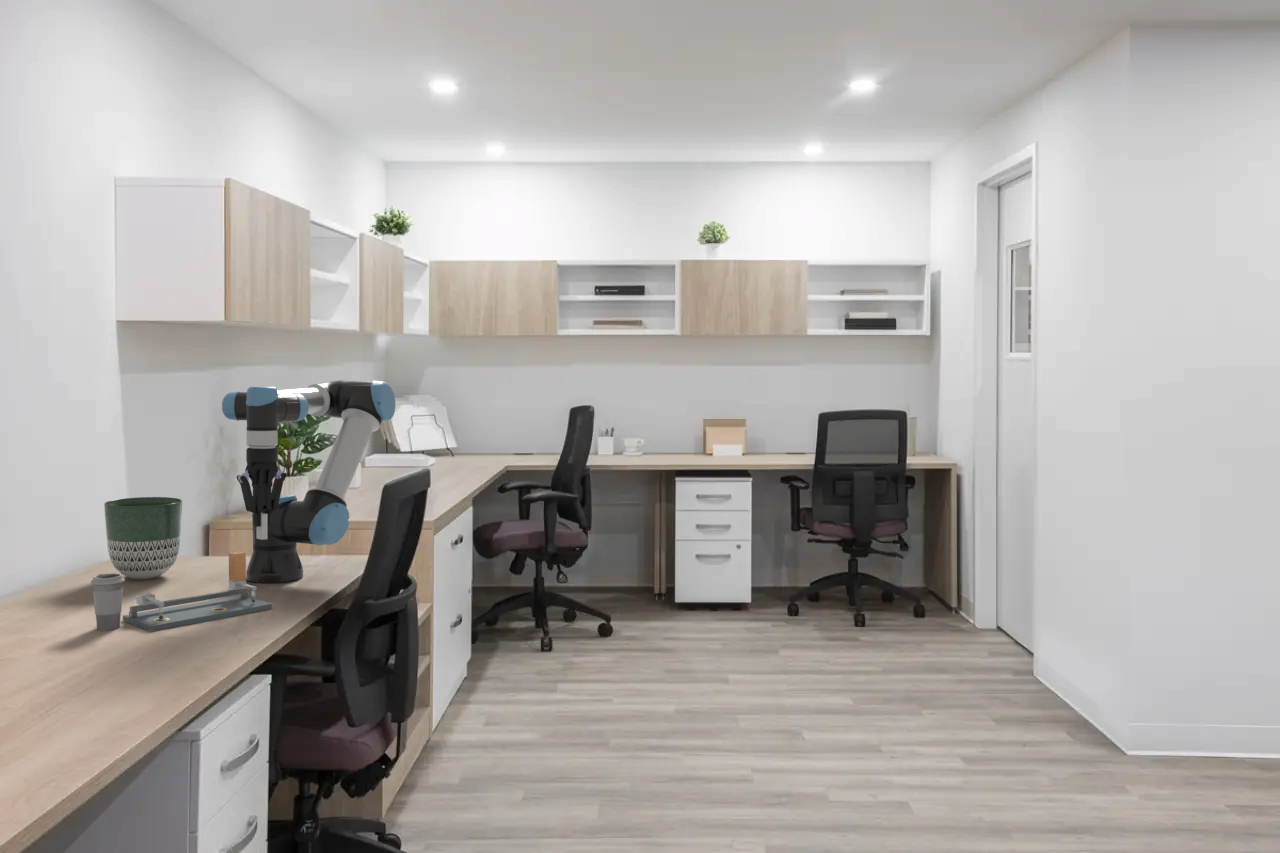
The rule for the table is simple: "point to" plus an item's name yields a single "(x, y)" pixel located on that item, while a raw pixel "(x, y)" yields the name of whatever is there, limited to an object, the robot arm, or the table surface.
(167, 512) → the planter
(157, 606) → the rail
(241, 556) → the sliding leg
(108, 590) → the cup
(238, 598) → the gauge board
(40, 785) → the table surface
